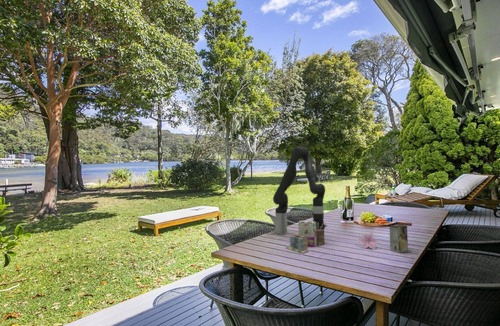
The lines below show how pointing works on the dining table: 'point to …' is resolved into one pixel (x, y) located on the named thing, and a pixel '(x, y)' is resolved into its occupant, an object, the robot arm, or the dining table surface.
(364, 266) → the dining table surface
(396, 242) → the coffee box
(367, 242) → the lily
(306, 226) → the candy bar box
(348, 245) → the dining table surface
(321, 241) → the walnut bookend
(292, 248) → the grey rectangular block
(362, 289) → the dining table surface
